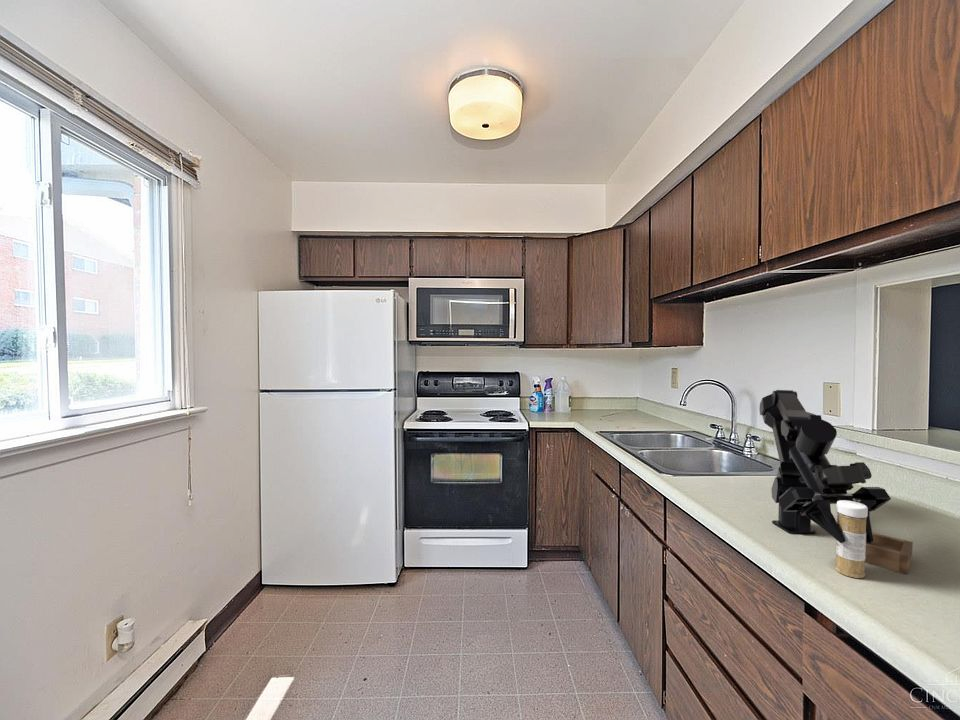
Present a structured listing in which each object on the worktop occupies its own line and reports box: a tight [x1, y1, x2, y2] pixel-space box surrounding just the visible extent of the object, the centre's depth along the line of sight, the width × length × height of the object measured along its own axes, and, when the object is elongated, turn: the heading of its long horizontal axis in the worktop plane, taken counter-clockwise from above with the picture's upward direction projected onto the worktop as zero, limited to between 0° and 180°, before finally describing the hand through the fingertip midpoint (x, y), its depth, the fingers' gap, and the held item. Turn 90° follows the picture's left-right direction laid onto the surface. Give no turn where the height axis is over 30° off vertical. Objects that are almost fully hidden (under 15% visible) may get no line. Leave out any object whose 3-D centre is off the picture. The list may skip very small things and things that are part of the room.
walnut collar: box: [865, 532, 914, 575], centre depth 92 cm, size 9×9×4 cm
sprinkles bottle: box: [834, 500, 868, 579], centre depth 85 cm, size 5×5×13 cm
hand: (857, 542), depth 84 cm, fingers open, 5 cm apart
